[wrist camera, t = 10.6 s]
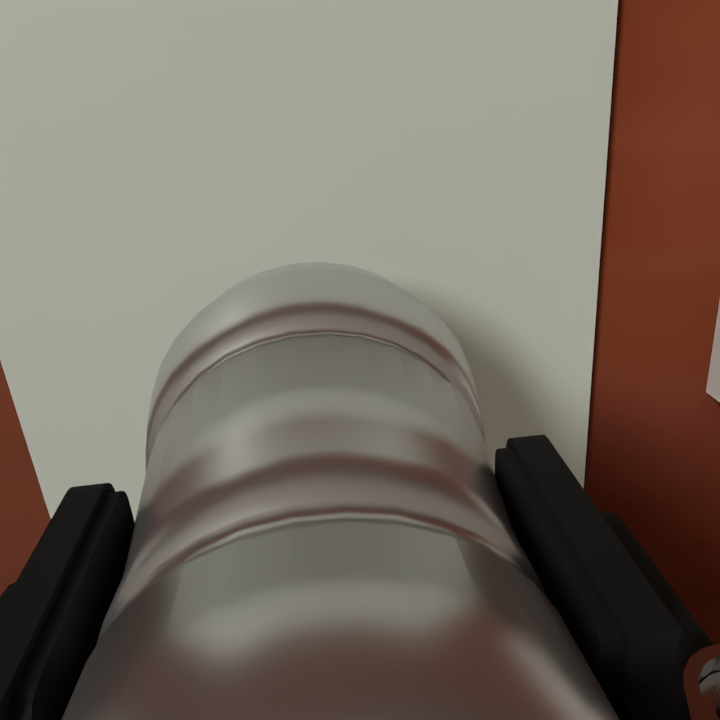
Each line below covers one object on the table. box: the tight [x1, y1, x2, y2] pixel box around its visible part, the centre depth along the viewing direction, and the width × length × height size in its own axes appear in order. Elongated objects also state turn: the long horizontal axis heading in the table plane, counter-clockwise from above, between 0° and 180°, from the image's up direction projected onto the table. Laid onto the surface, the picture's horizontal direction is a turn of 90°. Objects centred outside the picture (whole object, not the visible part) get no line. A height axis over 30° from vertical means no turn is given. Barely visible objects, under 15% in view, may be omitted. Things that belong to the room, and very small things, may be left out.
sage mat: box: [0, 0, 618, 522], centre depth 18 cm, size 20×16×1 cm
